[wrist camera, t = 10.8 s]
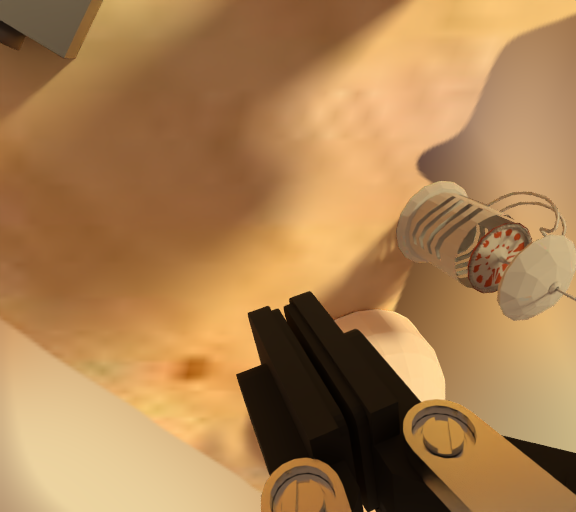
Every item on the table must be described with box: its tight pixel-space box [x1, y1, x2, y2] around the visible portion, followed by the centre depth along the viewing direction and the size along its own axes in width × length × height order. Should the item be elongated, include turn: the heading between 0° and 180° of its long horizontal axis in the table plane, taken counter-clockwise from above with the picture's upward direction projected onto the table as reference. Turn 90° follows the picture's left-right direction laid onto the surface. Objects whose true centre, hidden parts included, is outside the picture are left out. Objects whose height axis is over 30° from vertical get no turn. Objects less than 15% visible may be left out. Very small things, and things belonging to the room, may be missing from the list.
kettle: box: [334, 309, 445, 402], centre depth 44 cm, size 20×21×18 cm
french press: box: [396, 181, 576, 321], centre depth 35 cm, size 10×12×25 cm
